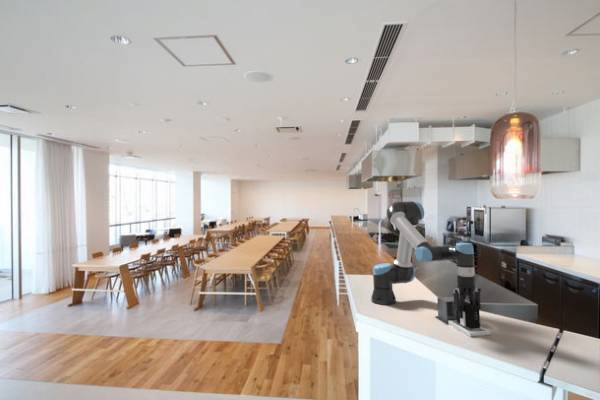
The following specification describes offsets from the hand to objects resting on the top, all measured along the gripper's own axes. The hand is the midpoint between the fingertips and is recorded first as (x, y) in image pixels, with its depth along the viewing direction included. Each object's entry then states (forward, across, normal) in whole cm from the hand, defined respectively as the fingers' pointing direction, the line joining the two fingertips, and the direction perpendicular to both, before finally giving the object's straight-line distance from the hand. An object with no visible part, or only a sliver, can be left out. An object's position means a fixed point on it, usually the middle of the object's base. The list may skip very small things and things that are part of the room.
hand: (468, 324), depth 146 cm
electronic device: (+1, 0, 0) cm, 1 cm away
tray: (+2, 0, 0) cm, 2 cm away
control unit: (+2, +1, +13) cm, 13 cm away
